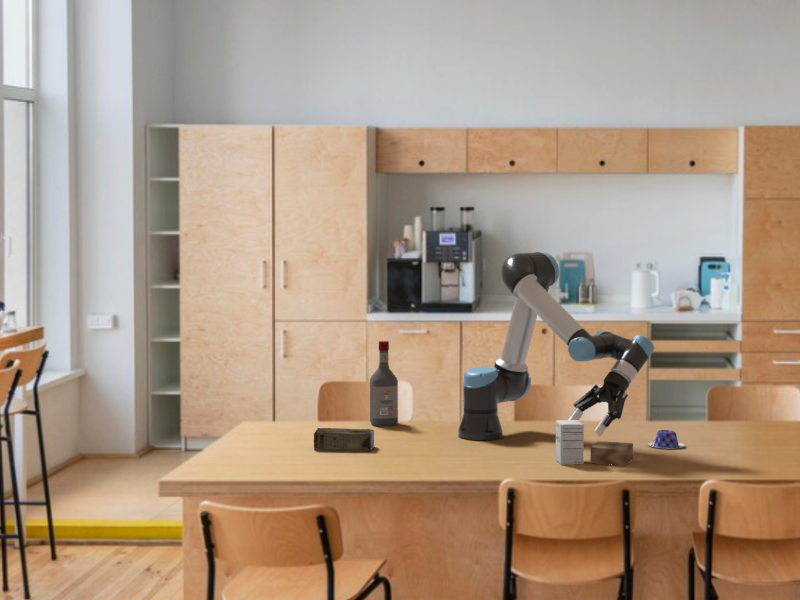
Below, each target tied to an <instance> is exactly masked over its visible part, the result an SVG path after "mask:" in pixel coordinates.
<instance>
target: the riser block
mask: <svg viewBox="0 0 800 600" xmlns="http://www.w3.org/2000/svg"><path fill="white" fill-rule="evenodd" d="M632 459H633V460H634V443H632V442H622V441H621V442H620V441H607V440H606V441H605V440H603V441H602V440H597V441H596V443H594V444H593V445H591V447H590V463H595V464H594V465H603V464H610V465H609V466H616V465H623V466H622V467H628V465H629V464H630V463H631V462H632V461H633V460H632ZM631 460H632V461H631ZM630 461H631V462H630ZM629 462H630V463H629ZM628 463H629V464H628ZM611 464H612V465H611ZM627 464H628V465H627Z"/></svg>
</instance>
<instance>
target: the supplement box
mask: <svg viewBox="0 0 800 600" xmlns="http://www.w3.org/2000/svg"><path fill="white" fill-rule="evenodd" d="M584 428H585V426H584V423H582V422H580V420H569V419H566V420H565V419H561V420H560V419H559V420H555V461H557V462H558V463H559V464H560V465H561V466H570V465H571V466H574V464H581V465H584V447H585V446H584V445H585V443H584V440H585V439H584V438H585V435H584V434H585V433H584V432H585V431H584V430H585V429H584Z"/></svg>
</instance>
